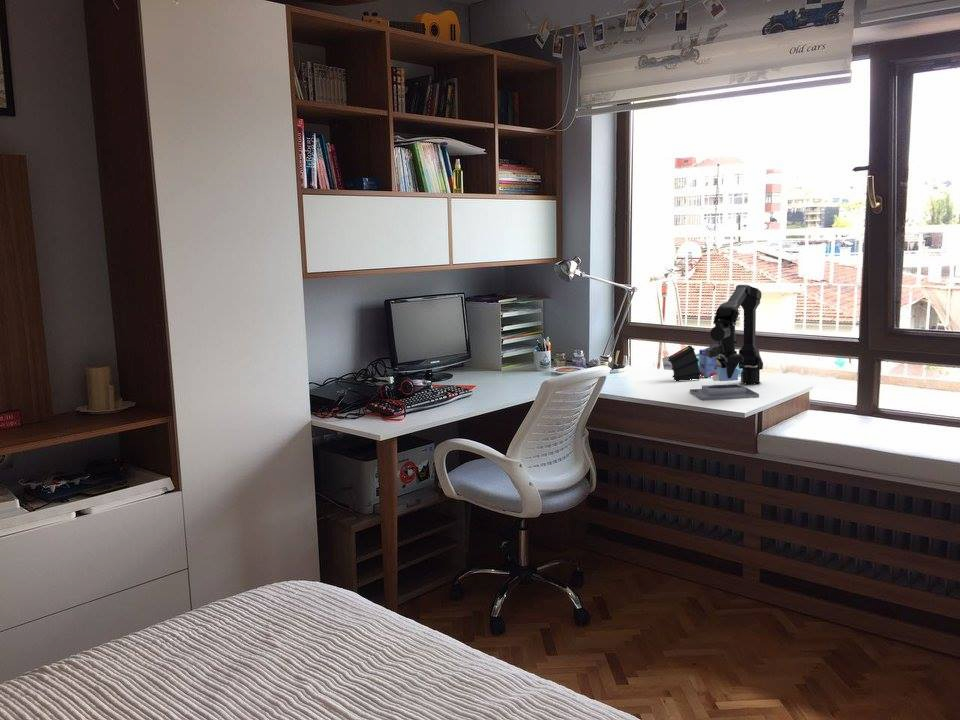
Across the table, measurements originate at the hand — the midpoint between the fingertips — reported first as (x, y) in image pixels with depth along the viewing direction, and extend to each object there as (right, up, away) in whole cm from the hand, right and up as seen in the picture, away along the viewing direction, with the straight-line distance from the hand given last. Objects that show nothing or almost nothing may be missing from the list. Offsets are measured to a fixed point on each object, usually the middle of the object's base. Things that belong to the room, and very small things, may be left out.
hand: (727, 377), depth 317 cm
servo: (0, -1, 0) cm, 1 cm away
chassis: (-1, -7, +1) cm, 7 cm away
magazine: (-8, -2, +34) cm, 35 cm away
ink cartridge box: (+5, -1, +41) cm, 41 cm away
